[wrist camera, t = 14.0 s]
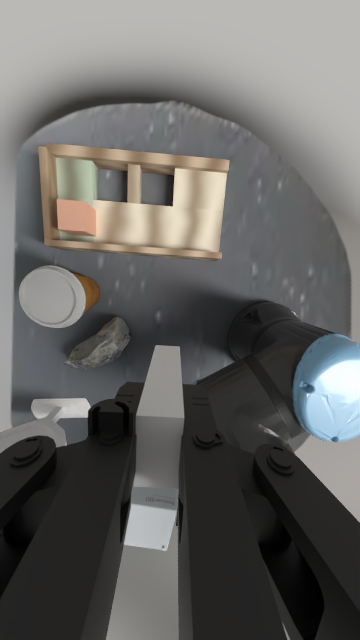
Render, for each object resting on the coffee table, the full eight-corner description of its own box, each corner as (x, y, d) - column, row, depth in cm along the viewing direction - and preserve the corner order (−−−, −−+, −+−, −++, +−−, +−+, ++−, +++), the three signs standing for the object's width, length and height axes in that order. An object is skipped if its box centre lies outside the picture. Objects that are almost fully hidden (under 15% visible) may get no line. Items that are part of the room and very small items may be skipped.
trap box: (224, 170, 38) (232, 153, 32) (215, 260, 41) (221, 258, 36) (57, 155, 37) (37, 134, 31) (62, 249, 40) (44, 245, 35)
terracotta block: (96, 210, 36) (85, 201, 32) (96, 236, 37) (86, 231, 33) (70, 208, 36) (56, 198, 32) (71, 234, 37) (57, 229, 33)
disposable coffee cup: (60, 264, 41) (14, 260, 29) (109, 271, 41) (83, 270, 29) (59, 311, 42) (16, 325, 31) (106, 318, 43) (80, 334, 31)
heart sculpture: (94, 398, 47) (45, 471, 29) (96, 417, 48) (50, 499, 30) (24, 399, 46) (-67, 474, 29) (28, 418, 48) (-58, 502, 30)
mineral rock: (75, 364, 45) (48, 389, 35) (69, 316, 43) (37, 328, 33) (134, 362, 45) (123, 387, 36) (131, 314, 43) (118, 326, 33)
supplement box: (178, 432, 49) (180, 511, 33) (171, 463, 51) (169, 553, 35) (138, 426, 49) (120, 503, 32) (132, 458, 51) (112, 546, 34)
